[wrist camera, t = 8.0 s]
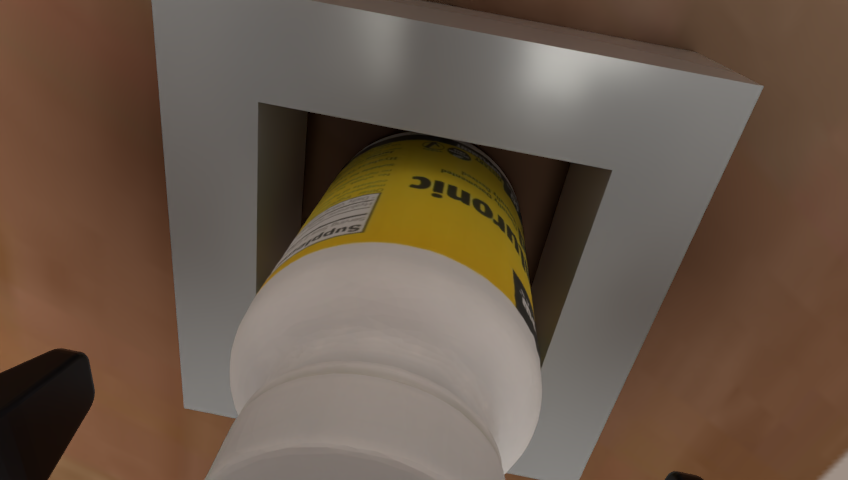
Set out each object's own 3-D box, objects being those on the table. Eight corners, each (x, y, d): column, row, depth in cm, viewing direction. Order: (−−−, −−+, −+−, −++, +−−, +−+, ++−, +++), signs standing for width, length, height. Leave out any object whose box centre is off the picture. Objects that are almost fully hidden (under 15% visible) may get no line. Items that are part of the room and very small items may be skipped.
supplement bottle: (557, 244, 15) (646, 626, 7) (404, 322, 17) (319, 699, 9) (451, 82, 13) (385, 322, 5) (292, 190, 15) (42, 500, 7)
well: (560, 394, 18) (575, 486, 15) (235, 329, 18) (184, 407, 15) (696, 51, 12) (763, 86, 9) (231, -37, 13) (148, -31, 10)
